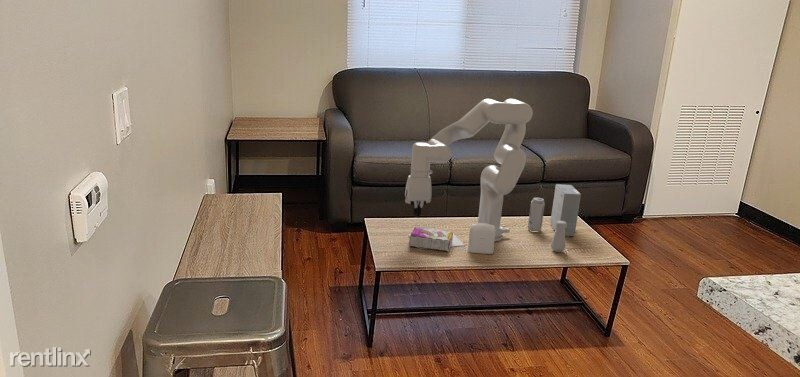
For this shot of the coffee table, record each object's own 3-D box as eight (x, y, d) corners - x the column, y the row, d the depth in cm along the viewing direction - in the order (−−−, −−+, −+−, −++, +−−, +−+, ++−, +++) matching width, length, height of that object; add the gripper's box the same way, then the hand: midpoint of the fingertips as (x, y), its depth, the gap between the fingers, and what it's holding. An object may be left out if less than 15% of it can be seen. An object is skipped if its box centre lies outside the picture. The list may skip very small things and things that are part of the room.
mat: (451, 232, 249) (451, 231, 249) (464, 245, 235) (464, 245, 235) (408, 234, 243) (408, 234, 243) (418, 248, 229) (418, 248, 229)
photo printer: (468, 253, 228) (471, 224, 224) (467, 249, 232) (470, 220, 228) (493, 255, 228) (497, 226, 224) (492, 250, 232) (495, 222, 228)
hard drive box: (574, 237, 252) (581, 194, 246) (557, 236, 252) (564, 193, 246) (565, 225, 266) (571, 184, 261) (549, 224, 266) (555, 183, 260)
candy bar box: (414, 225, 239) (453, 231, 236) (413, 236, 241) (452, 242, 238) (409, 235, 229) (450, 240, 226) (408, 246, 230) (449, 252, 227)
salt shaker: (547, 248, 237) (551, 219, 233) (558, 247, 239) (562, 218, 235) (556, 254, 232) (560, 224, 228) (567, 252, 234) (572, 223, 230)
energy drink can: (527, 227, 260) (531, 196, 256) (540, 228, 259) (545, 197, 255) (527, 231, 255) (531, 200, 250) (541, 233, 254) (545, 201, 249)
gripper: (434, 170, 234) (431, 212, 239) (399, 171, 230) (397, 213, 235) (440, 175, 227) (437, 218, 232) (404, 176, 223) (402, 220, 228)
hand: (416, 216), depth 234 cm, fingers closed
